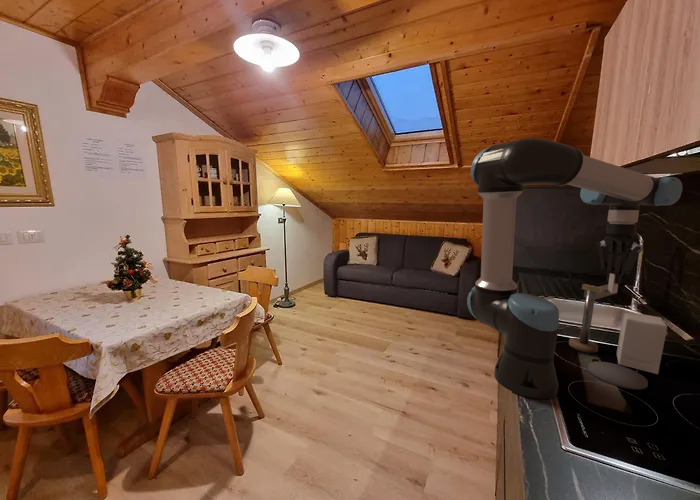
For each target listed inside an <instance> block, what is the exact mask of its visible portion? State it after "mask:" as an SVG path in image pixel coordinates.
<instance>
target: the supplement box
mask: <svg viewBox="0 0 700 500" xmlns="http://www.w3.org/2000/svg"><path fill="white" fill-rule="evenodd" d="M620 324H621V326H620V331H619V336H618V344H617V347H616V348H617V349H616V357H617V361H618V365H620V366H623V367H627V368H628V367H629V368H631V369H632V368H633V369H635V370H636V369H637V370H639V371H643V372H648V373H651V374H654V375H659V372H660V365H661V361H662V355H663V351H664V345H665V340H666V335H667V330H668V326H667V324H666V323H665V321H664V320H663V319H662V317H660V316H654V315H650V314H643V313H639V312H638V313H636V312H631V311H627V310H626V311H623V313H622V319H621V323H620Z"/></svg>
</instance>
